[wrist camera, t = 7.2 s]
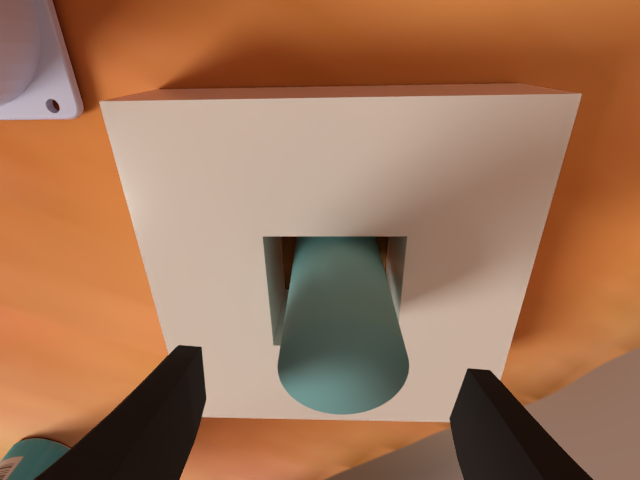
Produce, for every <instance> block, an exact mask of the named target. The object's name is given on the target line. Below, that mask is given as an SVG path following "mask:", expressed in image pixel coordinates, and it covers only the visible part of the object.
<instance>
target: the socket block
mask: <svg viewBox="0 0 640 480" xmlns="http://www.w3.org/2000/svg"><path fill="white" fill-rule="evenodd" d="M581 97H582V94H581V93H575V92H569V91H564V90H558V89H552V88H546V87H540V86H534V85H528V84H522V83H492V84H434V85H376V86H317V87H259V88H201V89H156V90H151V91H146V92H141V93H137V94H132V95H127V96H122V97H117V98H113V99H108V100H103V101H99V103H100V107H101V110H102V114H103V118H104V121H105V125H106V129H107V132H108V136H109V139H110V143H111V147H112V150H113V154H114V158H115V161H116V165H117V169H118V172H119V176H120V179H121V183H122V187H123V190H124V194H125V198H126V201H127V205H128V208H129V212H130V216H131V219H132V223H133V227H134V230H135V234H136V238H137V241H138V245H139V248H140V252H141V256H142V259H143V263H144V267H145V270H146V274H147V278H148V281H149V285H150V288H151V292H152V296H153V299H154V303H155V307H156V310H157V314H158V318H159V321H160V325H161V328H162V332H163V336H164V339H165V343H166V347H167V350H168V354H170V353H171V352H172V351H173V350H174V349H175V348H176V347H177V346H178V345H186V346H198V347H202V357H203V367H204V378H205V389H206V403H205V407H204V410H203V414H202V417H214V418H265V419H315V420H365V421H416V422H450V419H449V418H450V416H451V413H452V410H453V407H454V405H455V402H456V399H457V396H458V393H459V391H460V388H461V385H462V382H463V380H464V377H465V374H466V371H467V369H468V368H471V369H483V370H490V371H491V372H492V373H493V374H494V375H495V376H496V377H497V378H498V379H499V380H501V377H502V373H503V370H504V366H505V363H506V359H507V356H508V352H509V349H510V345H511V342H512V338H513V335H514V331H515V328H516V324H517V321H518V317H519V314H520V310H521V307H522V303H523V300H524V296H525V293H526V289H527V286H528V282H529V279H530V275H531V272H532V268H533V265H534V261H535V258H536V254H537V251H538V247H539V244H540V240H541V237H542V233H543V230H544V226H545V223H546V219H547V216H548V212H549V209H550V205H551V202H552V198H553V195H554V191H555V188H556V184H557V181H558V177H559V174H560V170H561V167H562V163H563V160H564V156H565V153H566V149H567V146H568V142H569V139H570V135H571V132H572V128H573V125H574V121H575V118H576V114H577V111H578V107H579V104H580V100H581ZM281 236H388V248H387V262H386V277H387V281H388V285H389V289H390V292H391V296H392V300H393V303H394V307H395V311H396V314H397V318H398V322H399V325H400V329H401V333H402V337H403V340H404V344H405V348H406V351H407V355H408V359H409V373H408V376H407V379H406V382H405V384H404V385H403V387H402V388H401V390H400V391H399V392H398V393H397V394H396V395H395V396H394V397H393V398H392V399H391V400H389V401H388V402H386V403H385V404H383V405H381V406H379V407H377V408H374V409H372V410H369V411H366V412H362V413H356V414H347V415H338V414H329V413H323V412H319V411H316V410H313V409H311V408H308V407H306V406H304V405H302V404H301V403H299V402H298V401H296V400H295V399H294V398H292V397H291V396H290V395H289V394H288V392H287V391H286V390H285V389H284V387H283V385H282V383H281V381H280V379H279V375H278V358H279V351H280V345H281V338H282V332H283V325H284V319H285V312H286V306H287V299H288V293H289V289H285V279H284V266H283V253H282V239H281Z"/></svg>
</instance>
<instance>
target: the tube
mask: <svg viewBox="0 0 640 480" xmlns="http://www.w3.org/2000/svg"><path fill="white" fill-rule="evenodd" d="M70 449H71V448H69V447H68V446H66V445H63V444H61V443H59V442H55V441H51V440H47V439H41V438H33V439H26V440H22V441H20V442H18V443H16V444H15V445H13V447H12V448H11V449H10V450H9V452H8V453H7V454H6V456H5V457H4V458H3V460H2V461H1V462H0V480H33V479H34V478H36V477H37V476H38V475H39V474H41V473H42V472H43V471H44V470H46V469H47V468H48V467H49V466H51V465H52V464H53V463H54V462H55V461H57V460H58V459H59V458H60V457H61V456H63V455H64V454H65V453H66V452H67V451H69V450H70Z"/></svg>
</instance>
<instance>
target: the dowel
mask: <svg viewBox="0 0 640 480" xmlns="http://www.w3.org/2000/svg"><path fill="white" fill-rule="evenodd" d="M408 373H409V359H408V355H407V351H406V348H405V344H404V340H403V337H402V333H401V329H400V325H399V322H398V318H397V314H396V311H395V307H394V303H393V300H392V296H391V292H390V289H389V285H388V281H387V277H386V274H385V270H384V266H383V263H382V259H381V255H380V252H379V248H378V244H377V241H376V237H375V236H297V241H296V247H295V254H294V260H293V267H292V273H291V280H290V286H289V293H288V299H287V306H286V312H285V319H284V325H283V332H282V338H281V345H280V351H279V358H278V375H279V379H280V381H281V383H282V385H283V387H284V389H285V390H286V391H287V392H288V394H289V395H290V396H291V397H292V398H294V399H295V400H296V401H298V402H299V403H301V404H302V405H304V406H306V407H308V408H311V409H313V410H316V411H319V412H323V413H329V414H338V415H347V414H356V413H362V412H366V411H369V410H372V409H374V408H377V407H379V406H381V405H383V404H385V403H386V402H388V401H389V400H391V399H392V398H393V397H394V396H395V395H396V394H397V393H398V392H399V391H400V390H401V388H402V387H403V385H404V384H405V382H406V379H407V376H408Z"/></svg>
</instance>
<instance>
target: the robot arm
mask: <svg viewBox="0 0 640 480" xmlns="http://www.w3.org/2000/svg"><path fill="white" fill-rule="evenodd" d="M53 100H55V101H56V102H57V103H58V104H59V107H60V110H59V111H58V110H56V109H55V108H54V106H53ZM83 110H84V108H83V103H82V99H81V96H80V92H79V89H78V86H77V82H76V79H75V76H74V72H73V69H72V65H71V62H70V59H69V55H68V52H67V48H66V45H65V42H64V38H63V35H62V31H61V28H60V25H59V21H58V18H57V14H56V11H55V8H54V4H53V1H52V0H0V120H39V119H73V118H77V117H80V116H81V115H82V113H83ZM205 403H206V389H205V378H204V367H203V357H202V347H198V346H186V345H178V346H177V347H176V348H175V349H174V350H173V351H172V352H171V353H170V354H169V355H168V356H167V357H166V358H165V359H164V360H163V361H162V362H161V363H160V364H159V365H158V366H157V367H156V368H155V369H154V371H153V372H152V373H151V374H150V375H149V376H148V377H147V378H146V379H145V380H144V381H143V382H142V383H141V384H140V385H139V386H138V387H137V388H136V389H135V390H134V391H133V392H132V393H131V394H130V395H129V396H127V397H126V398H125V399H124V400H123V401H122V402H121V403H120V404H119V405H118V406H117V407H116V408H115V409H114V410H113V411H112V412H111V413H110V414H109V415H108V416H107V417H106V418H105V419H103V420H102V421H101V422H100V423H99V424H98V425H97V426H96V427H94V428H93V429H92V430H91V431H90V432H89V433H88V434H87V435H86V436H84V437H83V438H82V439H81V440H80V441H79V442H78V443H77V444H75V445H74V446H73V447H72V448H71V449H70V450H69V451H67V452H66V453H65V454H64V455H63V456H61V457H60V458H59V459H58V460H57V461H55V462H54V463H53V464H52V465H51V466H49V467H48V468H47V469H46V470H44V471H43V472H42V473H41V474H39V475H38V476H37V477H36V478H34V479H33V480H179V479H180V477H181V474H182V472H183V469H184V467H185V464H186V461H187V459H188V456H189V454H190V451H191V449H192V446H193V444H194V441H195V438H196V435H197V432H198V428H199V425H200V421H201V418H202V414H203V410H204V407H205ZM449 419H450V424H451V429H452V434H453V440H454V445H455V449H456V453H457V458H458V462H459V465H460V468H461V471H462V474H463V478H464V480H593V479H592V478H591V477H590V476H589V475H588V474H587V473H586V472H585V471H584V470H583V469H582V468H581V467H580V466H579V465H578V464H577V463H576V462H575V461H574V460H573V459H572V458H571V457H570V456H569V455H568V454H567V453H566V452H565V451H564V450H563V449H562V448H561V447H560V446H559V445H558V443H557V442H556V441H555V440H554V439H553V438H552V437H551V436H550V435H549V434H548V433H547V432H546V431H545V430H544V429H543V428H542V426H541V425H540V424H539V423H538V422H537V421H536V420H535V419H534V418H533V417H532V416H531V414H530V413H529V412H528V411H527V410H526V409H525V408H524V407H523V406H522V405H521V403H520V402H519V401H518V400H517V399H516V398H515V397H514V396H513V395H512V393H511V392H510V391H509V390H508V389H507V388H506V387H505V386H504V385H503V383H502V382H501V381H500V380H499V379H498V378H497V377H496V376H495V375H494V374H493V373H492V372H491V371H490V370H483V369H471V368H468V369H467V371H466V374H465V377H464V380H463V382H462V385H461V388H460V391H459V393H458V396H457V399H456V402H455V405H454V407H453V410H452V413H451V416H450V418H449Z"/></svg>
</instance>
